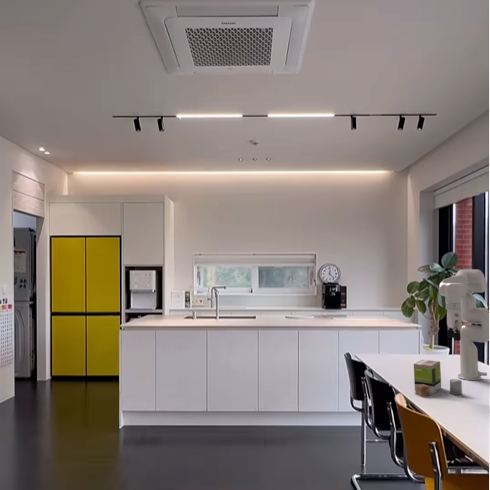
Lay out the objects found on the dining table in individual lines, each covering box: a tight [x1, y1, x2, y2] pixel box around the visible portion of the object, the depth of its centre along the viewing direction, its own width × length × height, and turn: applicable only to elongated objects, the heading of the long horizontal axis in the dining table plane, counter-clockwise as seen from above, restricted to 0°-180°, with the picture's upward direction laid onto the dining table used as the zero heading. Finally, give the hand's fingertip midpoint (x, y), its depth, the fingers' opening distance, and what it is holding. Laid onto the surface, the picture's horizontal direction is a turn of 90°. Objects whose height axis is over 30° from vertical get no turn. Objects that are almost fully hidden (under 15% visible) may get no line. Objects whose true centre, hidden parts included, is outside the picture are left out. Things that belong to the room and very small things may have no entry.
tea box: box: [413, 359, 442, 394], centre depth 251 cm, size 15×10×15 cm, turn 141°
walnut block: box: [414, 384, 431, 398], centre depth 240 cm, size 5×5×5 cm
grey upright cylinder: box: [449, 378, 463, 396], centre depth 242 cm, size 6×6×7 cm
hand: (454, 339), depth 243 cm, fingers open, 9 cm apart
